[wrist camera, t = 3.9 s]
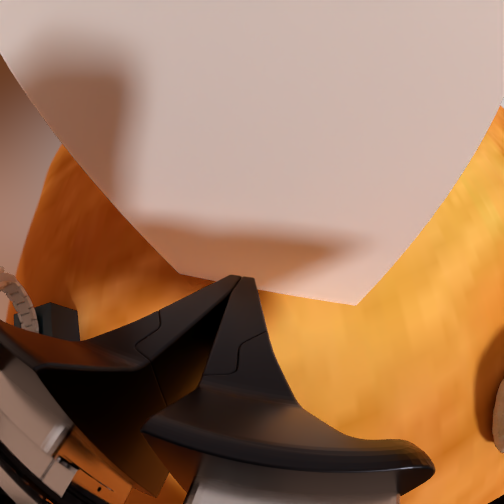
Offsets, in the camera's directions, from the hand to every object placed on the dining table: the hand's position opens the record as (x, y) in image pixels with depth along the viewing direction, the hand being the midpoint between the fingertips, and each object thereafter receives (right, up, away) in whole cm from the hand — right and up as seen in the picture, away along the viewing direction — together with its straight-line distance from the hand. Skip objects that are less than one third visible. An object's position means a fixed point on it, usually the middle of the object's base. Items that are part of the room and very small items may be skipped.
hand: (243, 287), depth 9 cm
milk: (+2, +4, +9) cm, 11 cm away
